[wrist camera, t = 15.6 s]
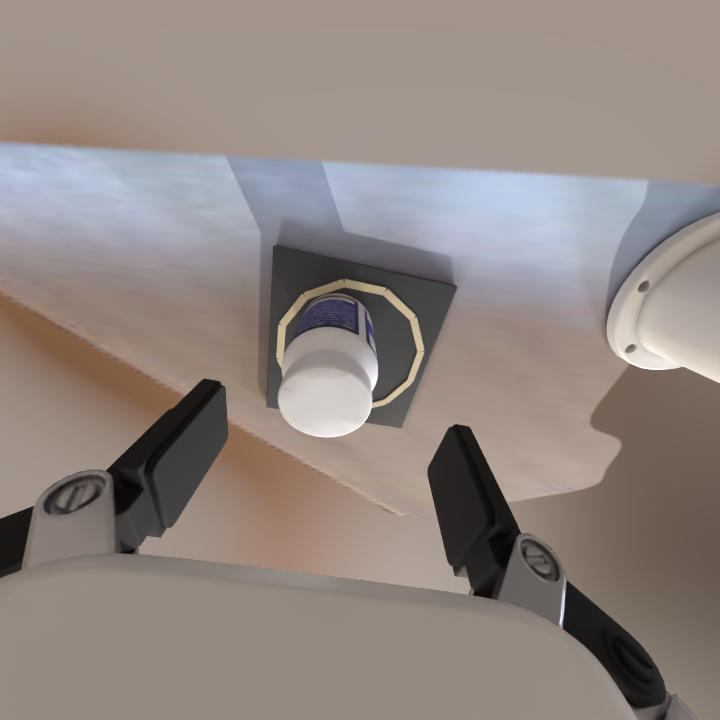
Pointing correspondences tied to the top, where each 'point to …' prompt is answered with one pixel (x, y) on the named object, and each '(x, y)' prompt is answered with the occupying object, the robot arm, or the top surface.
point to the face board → (387, 312)
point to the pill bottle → (329, 368)
